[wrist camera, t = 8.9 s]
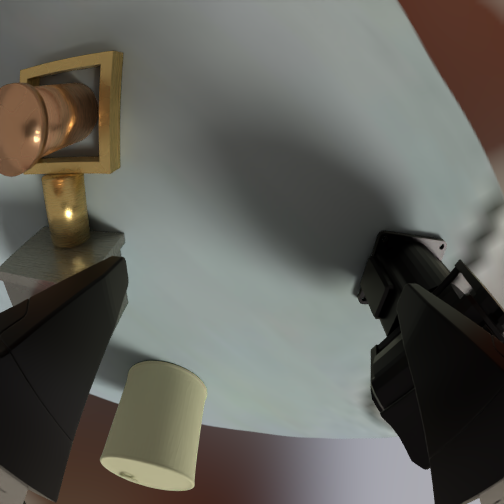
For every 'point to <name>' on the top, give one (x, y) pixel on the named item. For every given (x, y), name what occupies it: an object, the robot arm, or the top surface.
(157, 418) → the can
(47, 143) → the stub
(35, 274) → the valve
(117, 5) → the top surface
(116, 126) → the socket
